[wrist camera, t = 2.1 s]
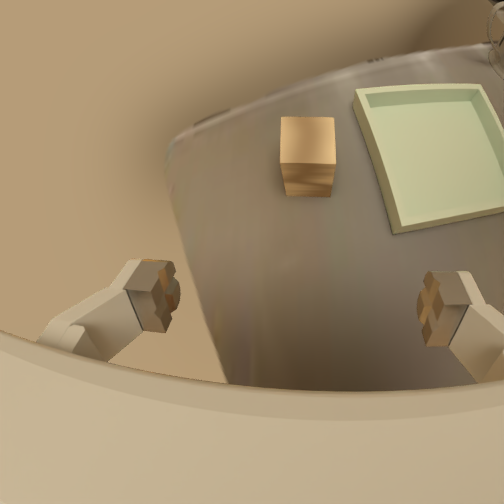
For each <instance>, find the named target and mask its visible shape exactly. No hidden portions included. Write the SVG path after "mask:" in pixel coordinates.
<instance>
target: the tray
mask: <svg viewBox="0 0 504 504" xmlns="http://www.w3.org/2000/svg"><path fill="white" fill-rule="evenodd" d="M353 110H354V112H355V115H356V118H357V120H358V123H359V126H360V129H361V131H362V134H363V137H364V140H365V143H366V146H367V149H368V151H369V154H370V158H371V161H372V164H373V167H374V170H375V173H376V176H377V180H378V183H379V186H380V190H381V193H382V197H383V200H384V204H385V207H386V211H387V215H388V219H389V223H390V226H391V230H392V234H393V235H394V234H399V233H404V232H409V231H414V230H419V229H424V228H429V227H434V226H439V225H444V224H449V223H453V222H458V221H463V220H468V219H473V218H478V217H482V216H487V215H492V214H497V213H501V212H504V129H503V127H502V125H501V123H500V120H499V118H498V116H497V114H496V112H495V110H494V108H493V106H492V105H491V103H490V101H489V99H488V97H487V95H486V93H485V92H484V90H483V88H482V86H481V84H417V85H399V86H385V87H374V88H364V89H355V95H354V101H353Z"/></svg>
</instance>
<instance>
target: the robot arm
mask: <svg viewBox="0 0 504 504" xmlns="http://www.w3.org/2000/svg"><path fill="white" fill-rule="evenodd" d="M175 272H176V270H175V267H174V264H173V262H171V261H164V260H151V259H135V258H134V259H133V258H132V259H129V260H128V262H127V263H126V264H125V266H124V267H123V269H122V270H121V271H120V273H119V274H118V275H117V277H116V278H115V280H114V281H113V283H112V284H111V286H110V287H109V288H104V289H102V290H100V291H98V292H97V293H95V294H93V295H91V296H90V297H88V298H86V299H84V300H83V301H81V302H79V303H78V304H76V305H74V306H73V307H71V308H69V309H68V310H66V311H64V312H62V313H61V314H59V315H57V316H56V317H54V318H53V319H52V320H51V321H50V323H49V324H48V325H47V327H46V328H45V330H44V331H43V333H42V334H41V335H40V337H39V339H38V340H37V341H36V342H33V341H30V340H27V339H24V338H21V337H18V336H16V335H13V334H10V333H7V332H4V331H2V330H0V504H504V315H502V314H501V313H500V312H499V311H497V310H496V309H495V308H494V307H492V306H491V305H490V304H488V305H486V303H485V301H484V299H483V297H482V295H481V293H480V291H479V289H478V287H477V285H476V283H475V281H474V279H473V277H472V275H471V273H470V272H468V271H455V272H446V271H428V272H427V273H426V275H425V278H424V281H423V282H424V284H425V288H424V289H423V290H422V291H420V293H419V297H418V300H417V315H418V319H419V321H420V322H421V323H422V324H423V325H424V326H423V329H422V334H423V338H424V342H425V346H426V347H433V346H449V347H448V348H449V349H450V350H451V351H452V353H453V354H454V355H455V356H456V357H457V358H458V360H459V361H460V362H461V363H462V365H463V366H464V367H465V368H466V369H467V371H468V372H469V373H470V374H471V376H472V377H473V378H474V379H475V381H476V382H477V383H478V384H471V385H462V386H453V387H443V388H432V389H418V390H400V391H364V392H344V391H308V390H289V389H275V388H263V387H252V386H242V385H233V384H225V383H216V382H209V381H202V380H195V379H189V378H182V377H177V376H171V375H165V374H160V373H154V372H149V371H144V370H139V369H134V368H130V367H125V366H120V365H116V364H112V363H108V361H109V360H110V359H111V358H113V357H114V356H115V355H116V354H117V353H118V352H120V351H121V350H122V349H123V348H124V347H126V346H127V345H128V344H129V343H130V342H132V341H133V340H134V339H135V338H136V337H137V336H139V335H140V334H141V333H142V332H143V331H150V332H159V333H166V331H167V329H168V327H169V324H170V322H171V320H172V317H171V312H173V311H174V310H176V309H177V306H178V304H179V301H180V286H179V282H178V281H177V280H176V279H175V278H174V277H173V276H174V274H175Z"/></svg>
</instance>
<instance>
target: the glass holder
mask: <svg viewBox="0 0 504 504" xmlns="http://www.w3.org/2000/svg"><path fill="white" fill-rule="evenodd" d="M501 7H504V2H500V3H497V4H496V5H495V6H494V7H493V9H492V10H491V12H490V15H489V17H488V22H487V36H488V38H489V40H490V42H491V44H492V46H493V47H494V49H493V50H491V51H490V52H489V61H490V63H491V65H492V67H493V69H494V70H495V71H496V73H497V74H498V75H499V76H500V77H501V78H502V79H503V80H504V33H503V34H502V36H501V38H500V40H499V42H498V43H497V45H496V46H495V45H494V43H493V41H492V38H491V24H492V21H493V18H494V15H495V14H496V12H497V10H499V9H500V8H501Z"/></svg>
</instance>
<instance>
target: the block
mask: <svg viewBox="0 0 504 504" xmlns="http://www.w3.org/2000/svg"><path fill="white" fill-rule="evenodd" d="M280 166H281V170H282V175H283V180H284V185H285V190H286V196H309V197H330V195H331V190H332V184H333V179H334V173H335V167H336V150H335V130H334V118H328V117H281V147H280Z"/></svg>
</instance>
